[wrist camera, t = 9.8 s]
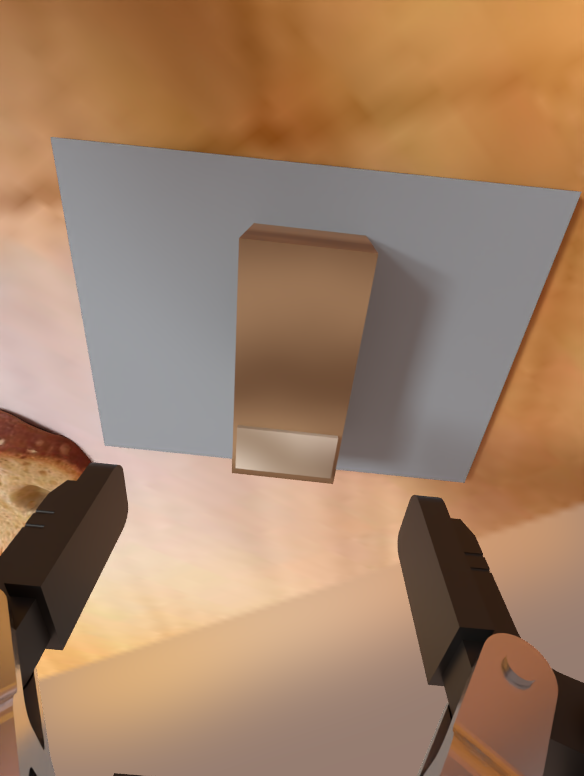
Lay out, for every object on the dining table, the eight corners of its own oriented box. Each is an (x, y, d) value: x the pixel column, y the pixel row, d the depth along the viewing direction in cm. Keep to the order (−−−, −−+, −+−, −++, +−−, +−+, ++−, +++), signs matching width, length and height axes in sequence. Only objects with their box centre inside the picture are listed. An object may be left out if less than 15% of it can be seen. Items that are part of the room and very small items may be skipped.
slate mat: (109, 439, 25) (104, 445, 24) (58, 137, 17) (50, 137, 17) (461, 475, 25) (464, 482, 24) (573, 191, 17) (581, 191, 17)
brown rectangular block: (253, 223, 18) (237, 238, 14) (366, 235, 18) (379, 254, 14) (244, 426, 23) (231, 475, 20) (330, 435, 23) (333, 486, 20)
